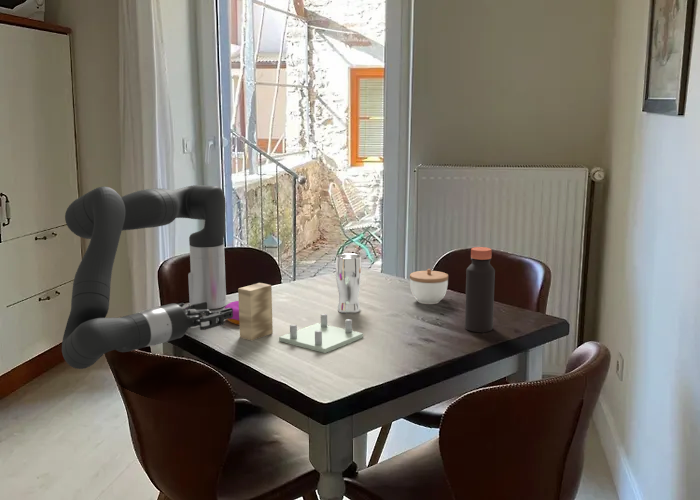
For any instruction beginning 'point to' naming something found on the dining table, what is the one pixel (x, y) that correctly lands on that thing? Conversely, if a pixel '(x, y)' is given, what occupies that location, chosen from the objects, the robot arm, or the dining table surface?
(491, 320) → the bottle
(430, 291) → the lidded jar
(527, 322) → the dining table surface
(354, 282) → the shiny metal tumbler
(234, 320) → the donut
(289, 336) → the peg stand
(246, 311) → the oak block
